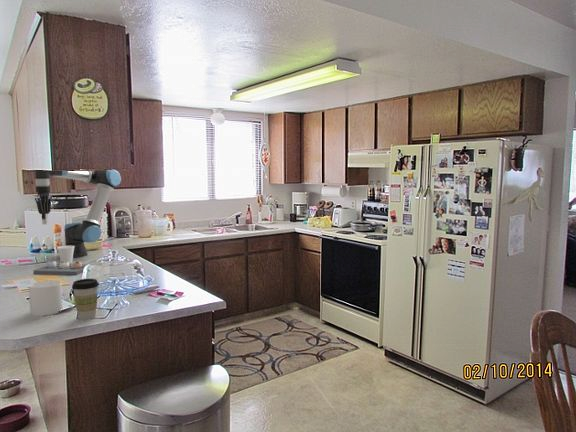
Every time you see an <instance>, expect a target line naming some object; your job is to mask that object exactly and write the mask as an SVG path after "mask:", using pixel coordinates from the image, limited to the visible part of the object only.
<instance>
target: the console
mask: <svg viewBox="0 0 576 432" xmlns="http://www.w3.org/2000/svg"><path fill="white" fill-rule="evenodd" d="M56 265H57V267H56V268H47V265H45V266H43V267H40V268H38V269H34V270H33V274H34V275H59V276H60V275H61V276H64V275H65V276H78V275H80V274H83V273H84V272H83V269H84V267H85V266H86V265H87V264H86V263H85V264H84V263H82V268H81V269H73V263H72V264H69V268H67V269H60V263H56ZM82 272H83V273H82Z"/></svg>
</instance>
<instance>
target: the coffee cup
mask: <svg viewBox="0 0 576 432" xmlns="http://www.w3.org/2000/svg"><path fill="white" fill-rule="evenodd" d="M99 285H100V283H99V282H98V279H96V278H82V279H77V280H75V281H73V283H72V285H71V289H73V297H74V302H75V308H76V311H77V317H78V319H80V321H89V320H93V319H94V317H95V316H97V315H96V314H97V305H98V294H99V292H98V287H99ZM92 318H93V319H92ZM95 318H96V317H95ZM88 319H89V320H88Z"/></svg>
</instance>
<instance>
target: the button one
mask: <svg viewBox="0 0 576 432" xmlns="http://www.w3.org/2000/svg"><path fill="white" fill-rule="evenodd" d="M56 264H57V261H55V260H54V261H53V260H52V261H47V262H46V266H47V268H56V267H57V265H56Z"/></svg>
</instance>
